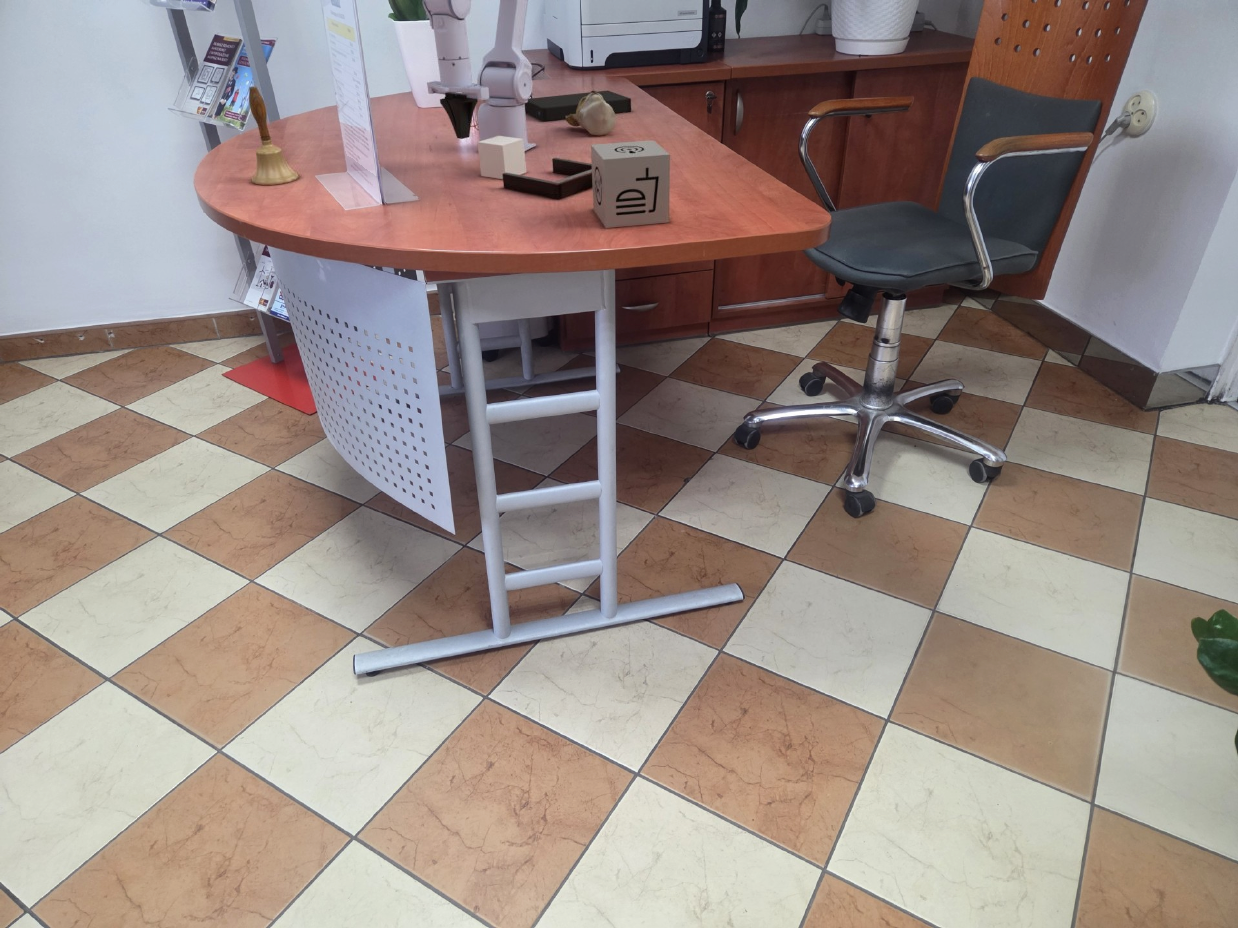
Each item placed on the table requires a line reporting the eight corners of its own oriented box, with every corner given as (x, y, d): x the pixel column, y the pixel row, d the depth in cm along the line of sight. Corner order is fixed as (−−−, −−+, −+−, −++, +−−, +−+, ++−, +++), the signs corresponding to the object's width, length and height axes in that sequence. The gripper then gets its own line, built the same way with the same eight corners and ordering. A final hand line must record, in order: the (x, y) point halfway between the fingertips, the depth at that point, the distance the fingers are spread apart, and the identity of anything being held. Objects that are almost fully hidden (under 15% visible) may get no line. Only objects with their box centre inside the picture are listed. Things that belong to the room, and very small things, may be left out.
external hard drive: (631, 111, 198) (630, 98, 196) (543, 122, 190) (542, 108, 188) (607, 103, 209) (607, 90, 207) (523, 112, 201) (522, 99, 199)
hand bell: (307, 175, 153) (286, 83, 144) (279, 186, 146) (255, 91, 137) (272, 172, 155) (249, 82, 146) (242, 183, 149) (216, 90, 140)
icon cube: (669, 222, 123) (670, 154, 118) (605, 228, 122) (603, 159, 116) (653, 204, 132) (653, 140, 126) (593, 209, 130) (590, 144, 124)
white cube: (481, 176, 150) (477, 142, 146) (501, 169, 154) (498, 135, 150) (506, 180, 147) (502, 145, 143) (526, 172, 151) (523, 138, 148)
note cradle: (503, 188, 142) (501, 172, 140) (556, 171, 151) (555, 156, 150) (558, 200, 135) (557, 183, 134) (610, 181, 144) (610, 165, 143)
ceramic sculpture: (578, 95, 168) (560, 89, 180) (580, 139, 172) (563, 130, 185) (626, 92, 171) (605, 86, 183) (627, 135, 175) (607, 127, 187)
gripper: (410, 58, 146) (421, 137, 154) (464, 63, 139) (474, 146, 146) (439, 54, 151) (449, 130, 158) (494, 58, 143) (501, 139, 151)
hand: (463, 137), depth 152 cm, fingers closed
